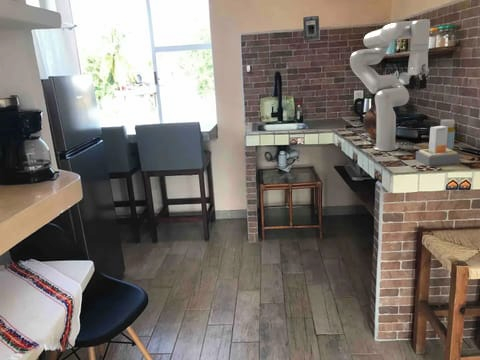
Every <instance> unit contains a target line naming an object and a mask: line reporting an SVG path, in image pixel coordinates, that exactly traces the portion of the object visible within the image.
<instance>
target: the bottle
mask: <svg viewBox="0 0 480 360" xmlns="http://www.w3.org/2000/svg"><path fill="white" fill-rule="evenodd" d="M455 121H456V120H455V119H452V118H451V119H446V118H445V119H441V120H440V122H439V124H440V125H439V126H446V127H448V133H447V145H446V148H447V149H450V150H453V151H454V146H455V135H456V129H455Z"/></svg>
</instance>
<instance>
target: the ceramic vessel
mask: <svg viewBox="0 0 480 360" xmlns="http://www.w3.org/2000/svg"><path fill="white" fill-rule="evenodd" d="M368 93H369V95H370V97H371V100H372V105H371V107H370V108H368V110H367V111H366V113H365V114H364V117H363V119H362V124H363V127H364V130H365V131H366V133H367V134H368V135H369V136H370V137H371V138H373V139H376V131H377V112H376V105H375V95H376V94H372V93H371V92H370V91H369V90H368Z"/></svg>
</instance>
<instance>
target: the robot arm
mask: <svg viewBox="0 0 480 360" xmlns="http://www.w3.org/2000/svg"><path fill="white" fill-rule="evenodd" d="M430 30H431V20H430V19H428V18H425V19H424V18H423V19H416V20H407V21H406V20H405V21H396V22H392V23H389V24H386V25H384V26H383V27H382V28H378V29H375V30H373V31H370V32H368V33H367V34H365V36H364V38H363V40H362V41H363V45H364V46H365V47H366V48H365V49H359V50H356V51H354V52H352V53H351V55H350V57H349V66H350V68H351V71H352V72H353V74H355V76H357V78H359V80H360V81H361V82H362V83H363V85H364V86H365V87H366V89H367V90H368V92H369V91H370V92H371V93H372V94H376V95H375V105H376V112H377V131H376V138H375V140H376V144H375V145H373V146H372V147H373V148H372V149H373V150H374V151H378V152H391V151H398V149H399V146H398V145H397V144H396V129H397V128H396V125H397V123H396V122H397V115H396V112H395V111H394V107H400V106H401V107H402V106H404V105H406V104H407V103H408V102H409V101H410V100H409V99H410V93H409V91H408V89H407V88H406V87H405V85H403V83H402V82H401V81H400V80H399V79H398V77H396V76H395V75H393V74H383V75H380V74H379V73H378V72H377V71H376V70H375V69H374V68H373V67H371V65H378V64H379V63H380V62H381V61H382V60H383V59H384V58H385V57H384V56H385V55H386V53H387V51H388V50H389V48H390V46H391V44H392V43H393V42H394V41H396V40H404V39H406V40H407V39H410V46H409V48H410V50H409V56H408V57H409V58H408V63H407V64H408V66H407V74H408V87H409V88H416V86H417V78H416V77H417V76H418V77H419V79H418V89H419V90H421V89H423V90H424V89H427V82H428V81H427V80H428V76H429V72H430V69H429V68H428V66H429V49H430V47H429V46H430V44H429V43H430Z"/></svg>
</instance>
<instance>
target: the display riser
mask: <svg viewBox="0 0 480 360" xmlns="http://www.w3.org/2000/svg"><path fill="white" fill-rule="evenodd" d="M415 161H418V162H420V163H422V164H424V165H426V166H428V167H432V166H433V167H434V166H443V165H452V164H460V162H461V153H459V152H457V151H455V150H454V149H453V150H450V149H447V148H446V153H438V154H432V153H429V148H425V149H424V148H423V149H419V150H416V151H415Z"/></svg>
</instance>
